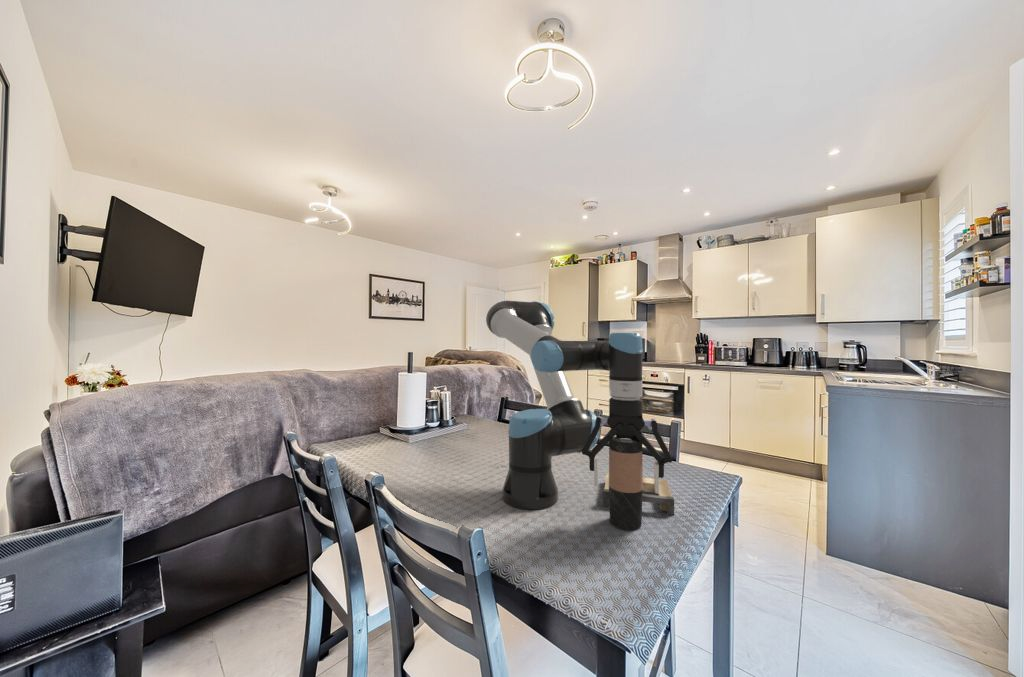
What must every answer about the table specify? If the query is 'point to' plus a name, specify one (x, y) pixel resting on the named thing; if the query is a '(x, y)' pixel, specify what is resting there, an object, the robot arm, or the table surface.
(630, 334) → the robot arm
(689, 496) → the table surface
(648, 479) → the wooden arch frame
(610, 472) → the travel mug
